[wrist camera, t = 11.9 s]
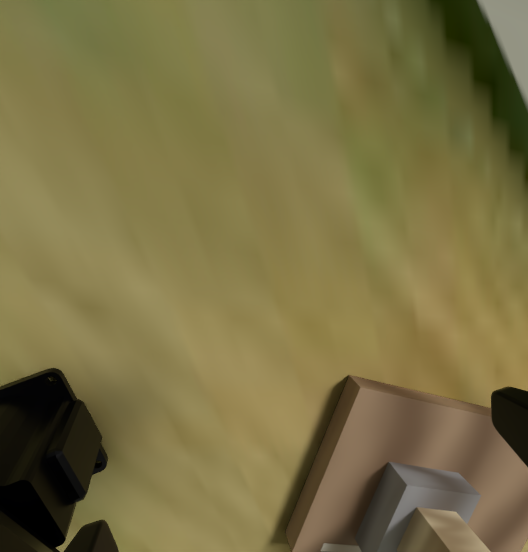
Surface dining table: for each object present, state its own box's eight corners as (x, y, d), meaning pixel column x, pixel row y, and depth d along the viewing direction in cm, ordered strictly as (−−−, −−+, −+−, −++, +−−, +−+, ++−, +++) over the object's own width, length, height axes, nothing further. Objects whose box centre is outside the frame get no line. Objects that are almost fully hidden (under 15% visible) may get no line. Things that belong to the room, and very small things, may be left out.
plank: (285, 532, 25) (292, 553, 24) (349, 375, 23) (360, 387, 22) (497, 548, 31) (513, 566, 30) (561, 424, 29) (581, 437, 28)
